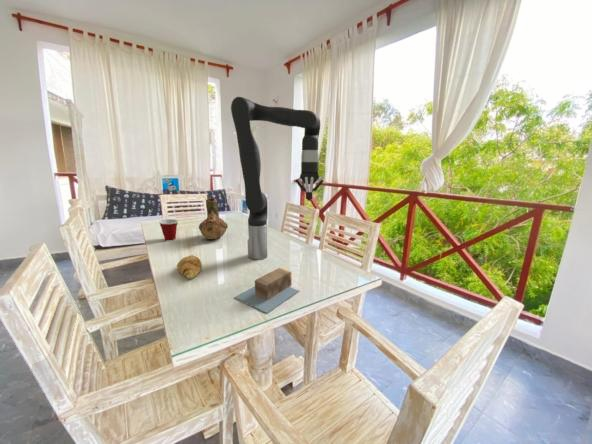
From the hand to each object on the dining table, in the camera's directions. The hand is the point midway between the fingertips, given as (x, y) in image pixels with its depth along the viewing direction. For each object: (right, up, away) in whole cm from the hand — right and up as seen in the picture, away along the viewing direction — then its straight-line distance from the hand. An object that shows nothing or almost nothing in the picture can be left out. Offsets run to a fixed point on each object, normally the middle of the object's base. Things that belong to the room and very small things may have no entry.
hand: (309, 200), depth 116 cm
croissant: (-54, -32, -1) cm, 63 cm away
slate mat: (-16, -37, -21) cm, 45 cm away
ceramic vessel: (-57, -21, +44) cm, 75 cm away
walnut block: (-10, -32, -13) cm, 36 cm away
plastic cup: (-84, -21, +42) cm, 96 cm away
